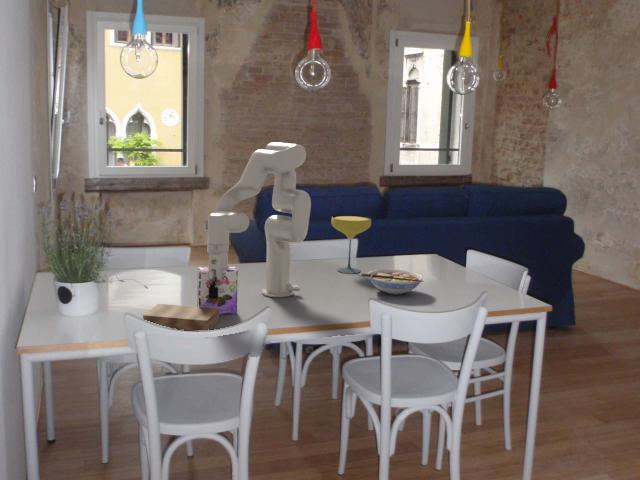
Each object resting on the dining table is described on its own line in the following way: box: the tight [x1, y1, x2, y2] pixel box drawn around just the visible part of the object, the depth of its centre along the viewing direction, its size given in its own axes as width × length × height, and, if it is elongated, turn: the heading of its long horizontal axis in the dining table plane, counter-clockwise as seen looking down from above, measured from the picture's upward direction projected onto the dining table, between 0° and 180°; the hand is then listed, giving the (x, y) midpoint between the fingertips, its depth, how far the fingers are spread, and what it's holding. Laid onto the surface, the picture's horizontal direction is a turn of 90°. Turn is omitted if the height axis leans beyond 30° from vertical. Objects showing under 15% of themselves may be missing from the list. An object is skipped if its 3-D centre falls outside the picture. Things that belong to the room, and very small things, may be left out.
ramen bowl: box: [360, 268, 424, 296], centre depth 291 cm, size 25×23×8 cm
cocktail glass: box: [330, 213, 372, 274], centre depth 324 cm, size 18×18×25 cm
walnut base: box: [142, 303, 220, 331], centre depth 242 cm, size 22×14×4 cm, turn 82°
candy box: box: [196, 266, 239, 316], centre depth 254 cm, size 14×6×16 cm, turn 105°
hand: (217, 294), depth 254 cm, fingers open, 9 cm apart
